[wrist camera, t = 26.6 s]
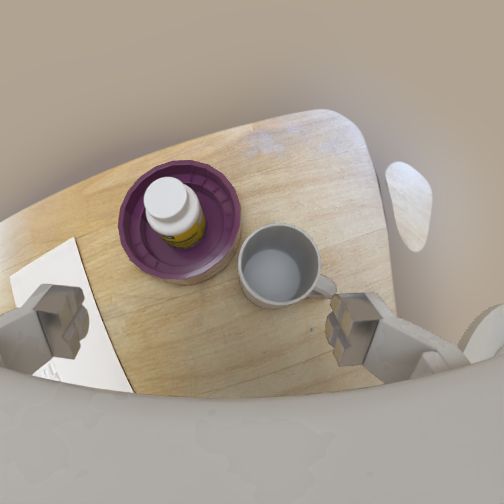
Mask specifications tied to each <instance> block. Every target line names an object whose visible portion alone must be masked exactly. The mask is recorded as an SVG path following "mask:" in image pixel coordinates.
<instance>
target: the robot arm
mask: <svg viewBox="0 0 504 504" xmlns="http://www.w3.org/2000/svg"><path fill="white" fill-rule="evenodd" d="M84 299H85V298H84V294H83V290H82V289H81V288H80V287H75V286H65V285H54V284H41V285H40V286H39V287H38V288H37V289H36V290H35V291H34V293H33V294H32V295H31V296H30V297H29V298H28V299H27V301H26V302H25V303H24V304H23V305H22V306H21V308H18V307H17V308H15V309H13V310H10V311H8V312H6V313H4V314H2V315H0V504H504V345H503V346H502V347H501V348H500V349H499V350H498V351H497V353H496V354H495V355H494V357H492V358H489V359H486V360H483V361H479V362H476V363H473V364H471V363H470V361H469V360H468V359H467V358H466V356H465V355H464V354H463V353H462V351H461V350H460V349H459V348H458V347H457V346H456V345H455V344H453V343H451V342H449V341H447V340H445V339H443V338H441V337H439V336H437V335H435V334H433V333H431V332H429V331H427V330H425V329H423V328H421V327H419V326H417V325H415V324H413V323H411V322H409V321H407V320H405V319H403V318H397V317H396V316H395V315H394V313H393V312H392V311H391V309H390V308H389V307H388V306H387V304H386V303H385V302H384V301H383V299H382V298H381V297H380V296H379V294H378V293H376V292H366V293H348V294H334V295H333V297H332V299H331V303H330V306H331V308H332V310H333V311H332V312H331V313H330V314H329V315H328V316H327V320H326V325H325V333H326V338H327V341H328V343H329V344H330V345H331V346H333V347H334V350H333V355H334V357H335V359H336V361H337V364H338V366H339V367H340V366H353V365H363V367H365V368H366V369H367V370H368V371H370V372H371V373H372V374H373V375H375V376H376V377H377V378H378V379H380V380H381V381H382V382H383V383H385V384H384V385H378V386H372V387H366V388H359V389H352V390H344V391H336V392H328V393H318V394H307V395H294V396H278V397H253V398H202V397H178V396H162V395H150V394H140V393H130V392H122V391H114V390H107V389H100V388H93V387H87V386H81V385H76V384H70V383H65V382H60V381H55V380H50V379H46V378H42V377H37V376H33V375H32V374H34V373H35V372H36V371H37V370H38V369H40V368H41V367H42V366H43V365H45V364H46V363H47V362H48V361H50V360H51V359H52V358H53V357H58V358H66V359H73V360H75V357H76V355H77V353H78V351H79V349H80V347H81V345H80V341H81V340H82V339H84V338H85V337H86V335H87V333H88V329H89V315H88V310H87V309H86V308H85V307H84V306H83V305H82V303H83V301H84Z"/></svg>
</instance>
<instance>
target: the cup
mask: <svg viewBox="0 0 504 504" xmlns="http://www.w3.org/2000/svg"><path fill="white" fill-rule="evenodd" d="M321 268H322V267H321V256H320V253H319V250H318V247H317V245H316V244H315V242H314V241H313V239H312V238H311V237H310V236H309V235H308V234H307V233H306V232H305V231H304V230H302V229H300V228H298V227H296V226H295V225H291V224H287V223H271V224H267V225H264V226H262V227H260V228H258V229H256V230H254V231H253V232H252V233H251V234H250V235H249V236H248V237H247V238H246V240H245V241H244V243H243V245H242V247H241V249H240V253H239V257H238V272H239V279H240V284H241V287H242V290H243V292H244V293H245V295H246V297H247V298H248V299H249V300H250V301H251V302H253V303H254V304H256V305H258V306H260V307H263V308H267V309H279V308H282V307H285V306H288V305H291V304H293V303H296V302H298V301H300V300H302V299H303V298H305V297H306V296H308V297H311V298H315V299H331V298H332V297H333V295H334V294H336V292H337V287H336V284H335V282H333V281H332V280H331V279H329V278H328V277H326V276H324V275H322V274H320V273H321Z"/></svg>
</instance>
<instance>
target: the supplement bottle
mask: <svg viewBox="0 0 504 504" xmlns="http://www.w3.org/2000/svg"><path fill="white" fill-rule="evenodd" d="M144 205H145V208H146V217H147V220H148V222H149V224H150V226H151V227H152V228H153V229H154V230H155V231H156V232H157V234H158V235H159V236H160V237H161V238H162V239H163V240H164V241H165V242H166V243H167V244H168V245H170V246H171V247H173V248H175V249H179V250H186V249H190V248H193V247H195V246H196V245H198V244H199V243H200V242H201V240H202V239H203V237H204V235H205V232H206V220H205V217H204V214H203V211H202V208H201V206H200V203H199V200H198V198H197V196H196V194H195V192H194V191H193V190H192V189H191V188H190V187H188V186H187V185H185V184H183V183H182V182H181V181H180V180H178V179H176V178H173V177H163V178H159V179H157V180H155V181H154V182H153V183H151V184H150V186H149V187H148V188H147V190H146V192H145V195H144Z"/></svg>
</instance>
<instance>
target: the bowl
mask: <svg viewBox="0 0 504 504" xmlns="http://www.w3.org/2000/svg"><path fill="white" fill-rule="evenodd" d="M163 177H173V178H176V179H178V180H180V181H181V182H182V183H183V184H185V185H187V186H188V187H190V188H191V189H192V190H193V191H194V192H195V194H196V196H197V198H198V200H199V203H200V206H201V208H202V211H203V214H204V217H205V220H206V232H205V235H204V237H203V239H202V240H201V242H200V243H199V244H198V245H196V246H195V247H193V248H190V249H186V250H179V249H175V248H173V247H171V246H170V245H168V244H167V243H166V242H165V241H164V240H163V239H162V238H161V237H160V236H159V235H158V234H157V232H156V231H155V230H154V229H153V228H152V227H151V226H150V224H149V222H148V220H147V217H146V208H145V205H144V195H145V192H146V190H147V188H148V187H149V186H150V184H151V183H153V182H154V181H155V180H157V179H159V178H163ZM118 230H119V235H120V240H121V244H122V247H123V248H124V250H125V252H126V254H127V255H128V257H129V259H130V260H131V261H132V262H133V263H134V264H135V265H136V266H138V267H139V268H140V269H141V270H142V271H144V272H145V273H147V274H149V275H151V276H153V277H155V278H156V279H159V280H162V281H164V282H167V283H170V284H173V285H192V284H196V283H199V282H202V281H205V280H208V279H210V278H211V277H213V276H214V275H216V274H217V273H218V272H220V271H221V270H223V269H224V268H225V266H226V265H227V264H228V262H229V261H230V260H231V259H232V257H233V256H234V255H235V252H236V250H237V247H238V244H239V241H240V238H241V208H240V203H239V200H238V197H237V194H236V191H235V189H234V187H233V186H232V184H231V183H230V182H229V181H228V179H227V178H226V177H225V176H224V174H222V173H221V172H219V171H218V170H216V169H214V168H213V167H211V166H210V165H208V164H204V163H200V162H197V161H193V160H179V161H171V162H168V163H165V164H162V165H159V166H156V167H154V168H152V169H151V170H149V171H148V172H147V173H145V174H144V175H142V176H141V177H140V178H139V179H138V180H137V181H136V182H135V183H134V185H133V186H132V187H131V188H130V189H129V190H128V192H127V194H126V196H125V199H124V201H123V203H122V205H121V208H120V214H119V222H118Z"/></svg>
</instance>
